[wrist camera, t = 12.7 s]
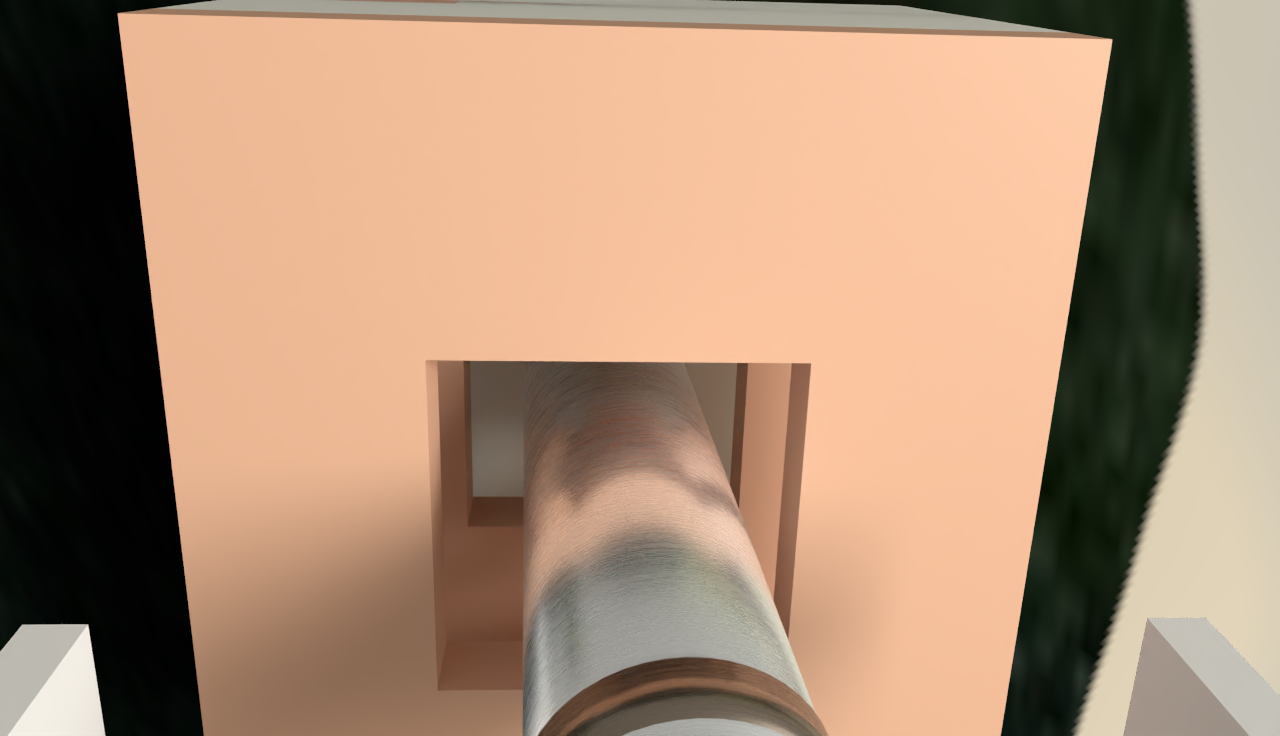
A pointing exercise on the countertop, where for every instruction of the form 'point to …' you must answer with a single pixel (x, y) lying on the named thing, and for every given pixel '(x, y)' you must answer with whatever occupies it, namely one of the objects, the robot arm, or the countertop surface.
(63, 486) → the countertop surface
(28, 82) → the countertop surface
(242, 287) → the tissue box
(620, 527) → the metal tube
